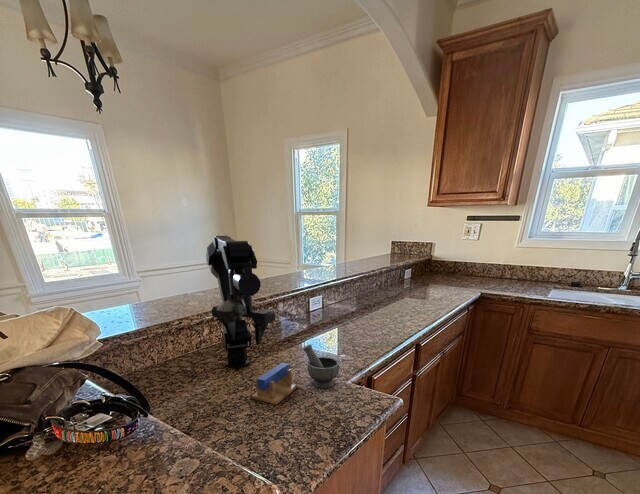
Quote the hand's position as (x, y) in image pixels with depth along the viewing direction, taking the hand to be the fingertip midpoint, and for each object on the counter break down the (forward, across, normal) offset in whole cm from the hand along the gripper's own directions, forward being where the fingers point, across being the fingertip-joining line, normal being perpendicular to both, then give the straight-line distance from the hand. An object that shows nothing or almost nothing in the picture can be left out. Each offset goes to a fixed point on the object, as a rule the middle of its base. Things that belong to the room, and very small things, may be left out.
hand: (245, 342), depth 105 cm
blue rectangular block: (+8, +13, -5) cm, 16 cm away
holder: (+12, +13, -5) cm, 18 cm away
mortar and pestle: (+12, +22, +7) cm, 26 cm away
